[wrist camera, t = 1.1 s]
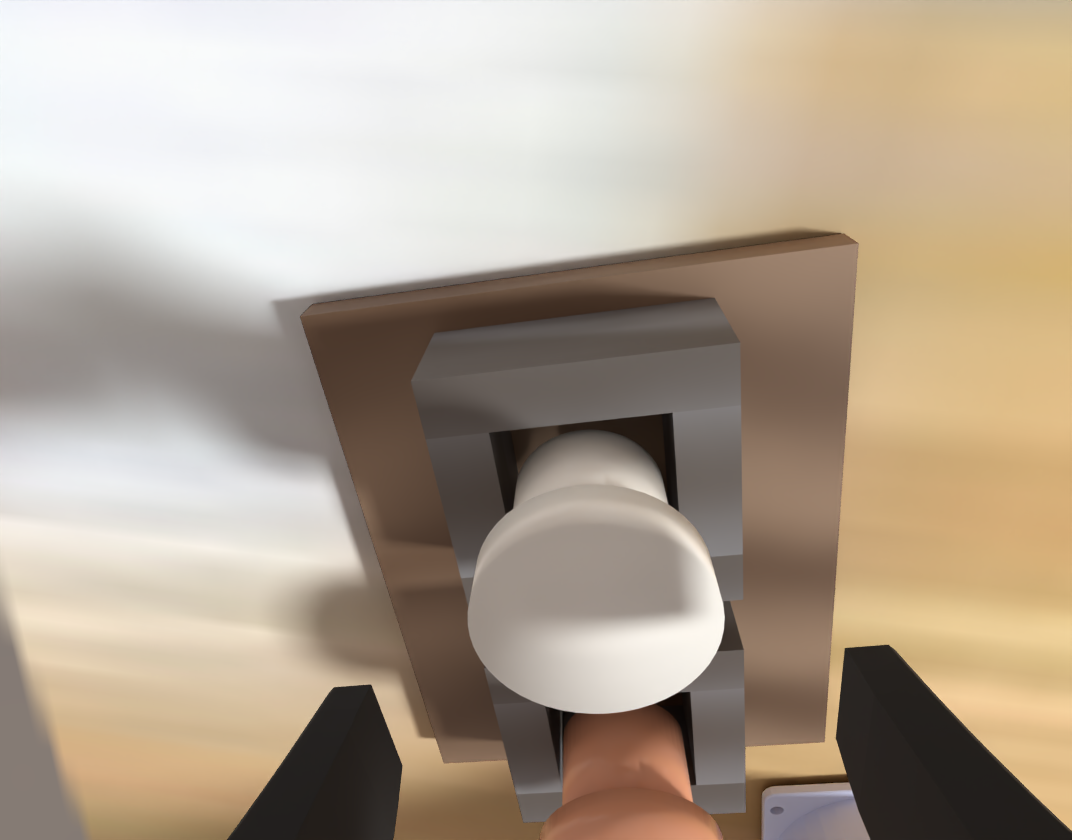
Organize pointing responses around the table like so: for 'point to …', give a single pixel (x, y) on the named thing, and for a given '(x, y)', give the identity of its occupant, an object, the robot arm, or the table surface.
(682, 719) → the board
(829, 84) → the table surface
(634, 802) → the rust plunger
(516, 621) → the pale plunger
